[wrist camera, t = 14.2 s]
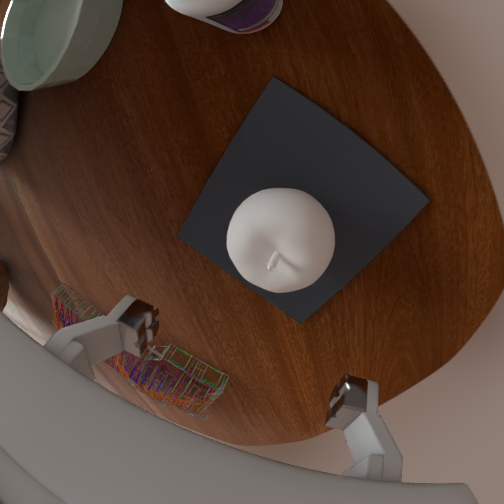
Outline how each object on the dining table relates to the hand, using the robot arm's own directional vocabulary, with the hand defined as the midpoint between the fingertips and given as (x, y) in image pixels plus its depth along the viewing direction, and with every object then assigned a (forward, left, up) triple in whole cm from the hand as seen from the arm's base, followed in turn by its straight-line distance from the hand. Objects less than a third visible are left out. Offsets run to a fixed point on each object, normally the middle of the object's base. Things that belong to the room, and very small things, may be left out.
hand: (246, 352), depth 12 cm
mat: (0, -1, -14) cm, 14 cm away
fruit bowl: (-5, -30, -14) cm, 33 cm away
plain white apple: (0, -1, -13) cm, 13 cm away
